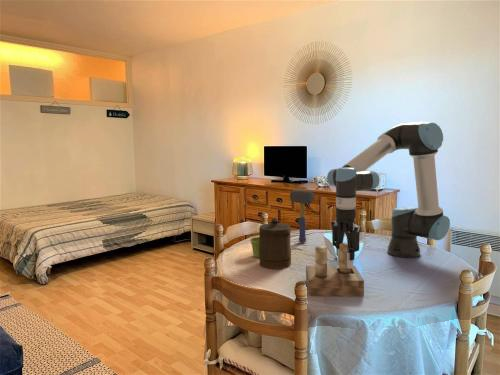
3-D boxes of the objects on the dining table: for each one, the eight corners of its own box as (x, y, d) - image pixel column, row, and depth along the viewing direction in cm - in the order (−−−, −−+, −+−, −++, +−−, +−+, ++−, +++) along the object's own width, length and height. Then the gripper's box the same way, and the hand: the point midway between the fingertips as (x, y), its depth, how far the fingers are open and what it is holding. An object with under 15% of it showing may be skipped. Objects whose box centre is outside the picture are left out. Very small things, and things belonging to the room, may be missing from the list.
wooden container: (297, 263, 177) (296, 217, 174) (278, 271, 166) (277, 223, 163) (272, 257, 186) (271, 213, 184) (253, 264, 175) (251, 219, 173)
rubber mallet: (315, 242, 210) (315, 189, 206) (309, 245, 204) (308, 191, 200) (296, 239, 217) (295, 188, 213) (289, 242, 211) (288, 190, 207)
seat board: (355, 279, 154) (355, 239, 151) (363, 296, 138) (364, 251, 136) (306, 279, 155) (305, 240, 153) (309, 295, 139) (308, 251, 137)
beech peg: (350, 276, 150) (350, 242, 148) (352, 280, 145) (352, 245, 143) (338, 276, 150) (338, 242, 148) (340, 280, 146) (340, 245, 144)
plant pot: (272, 257, 186) (271, 240, 185) (254, 260, 182) (254, 242, 181) (264, 252, 194) (263, 236, 193) (247, 254, 191) (247, 238, 190)
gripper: (322, 205, 149) (322, 262, 152) (356, 212, 135) (355, 274, 138) (336, 203, 153) (335, 258, 156) (370, 209, 139) (369, 270, 142)
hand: (345, 265), depth 147 cm, fingers closed on beech peg, 4 cm apart
